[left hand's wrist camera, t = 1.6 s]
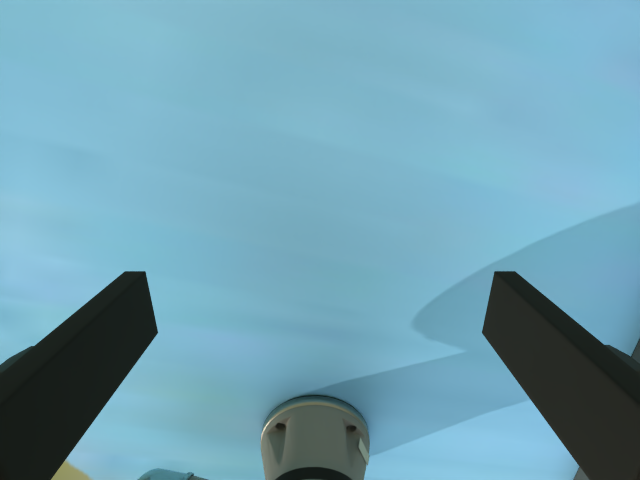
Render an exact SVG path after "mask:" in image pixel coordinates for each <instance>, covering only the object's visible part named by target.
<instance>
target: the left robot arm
mask: <svg viewBox="0 0 640 480" xmlns="http://www.w3.org/2000/svg"><path fill="white" fill-rule="evenodd" d="M157 333H158V331H157V326H156V321H155V316H154V311H153V306H152V301H151V296H150V292H149V287H148V282H147V277H146V272H145V271H125V272H124V273H123V274H121V275H120V276H119V277H118V278H116V279H115V280H114V281H113V282H112V283H110V284H109V285H108V286H107V287H106V288H104V289H103V290H102V291H101V292H99V293H98V294H97V295H96V296H95V297H93V298H92V299H91V300H90V301H89V302H87V303H86V304H85V305H84V306H82V307H81V308H80V309H79V310H78V311H76V312H75V313H74V314H73V315H72V316H70V317H69V318H68V319H67V320H65V321H64V322H63V323H62V324H61V325H59V326H58V327H57V328H56V329H55V330H53V331H52V332H51V333H50V334H48V335H47V336H46V337H45V338H44V339H42V340H41V341H40V342H39V343H38V344H36V345H35V346H31V347H29V348H27V349H25V350H23V351H21V352H20V353H18V354H16V355H14V356H12V357H10V358H9V359H7V360H6V361H5V362H4V363H2V364H1V365H0V480H51V479H52V477H53V476H54V474H55V473H56V472H57V470H58V469H59V468H60V466H61V465H62V464H63V462H64V461H65V459H66V458H67V457H68V455H69V454H70V453H71V451H72V450H73V448H74V447H75V446H76V444H77V443H78V442H79V440H80V439H81V437H82V436H83V435H84V433H85V432H86V431H87V429H88V428H89V427H90V425H91V424H92V422H93V421H94V420H95V418H96V417H97V416H98V414H99V413H100V411H101V410H102V409H103V407H104V406H105V405H106V403H107V402H108V401H109V399H110V398H111V396H112V395H113V394H114V392H115V391H116V390H117V388H118V387H119V385H120V384H121V383H122V381H123V380H124V379H125V377H126V376H127V374H128V373H129V372H130V370H131V369H132V368H133V366H134V365H135V364H136V362H137V361H138V359H139V358H140V357H141V355H142V354H143V353H144V351H145V350H146V348H147V347H148V346H149V344H150V343H151V342H152V340H153V339H154V338H155V336H156V335H157ZM482 333H483V335H484V336H485V338H486V339H487V340H488V342H489V343H490V344H491V346H492V347H493V348H494V350H495V351H496V353H497V354H498V355H499V357H500V358H501V359H502V361H503V362H504V364H505V365H506V366H507V368H508V369H509V370H510V372H511V373H512V374H513V376H514V377H515V379H516V380H517V381H518V383H519V384H520V385H521V387H522V388H523V390H524V391H525V392H526V394H527V395H528V396H529V398H530V399H531V401H532V402H533V403H534V405H535V406H536V407H537V409H538V410H539V411H540V413H541V414H542V416H543V417H544V418H545V420H546V421H547V422H548V424H549V425H550V427H551V428H552V429H553V431H554V432H555V433H556V435H557V436H558V437H559V439H560V440H561V442H562V443H563V444H564V446H565V447H566V448H567V450H568V451H569V453H570V454H571V455H572V457H573V458H574V459H575V461H576V462H577V464H578V465H579V466H580V468H581V469H582V470H583V472H584V473H585V474H586V476H587V477H588V479H589V480H640V363H638V362H637V361H636V360H635V359H633V358H632V357H630V356H629V355H627V354H625V353H623V352H621V351H619V350H618V349H616V348H614V347H612V346H610V345H604V344H602V343H601V342H600V341H599V340H598V339H596V338H595V337H594V336H593V335H592V334H590V333H589V332H588V331H587V330H585V329H584V328H583V327H582V326H581V325H579V324H578V323H577V322H576V321H575V320H573V319H572V318H571V317H570V316H568V315H567V314H566V313H565V312H564V311H562V310H561V309H560V308H559V307H558V306H556V305H555V304H554V303H553V302H551V301H550V300H549V299H548V298H547V297H545V296H544V295H543V294H542V293H541V292H539V291H538V290H537V289H536V288H534V287H533V286H532V285H531V284H530V283H528V282H527V281H526V280H525V279H524V278H522V277H521V276H520V275H519V274H517V273H516V272H515V271H495V272H494V277H493V282H492V287H491V292H490V296H489V301H488V306H487V311H486V316H485V321H484V326H483V331H482ZM369 444H370V442H369V434H368V428H367V425H366V422H365V420H364V418H363V417H362V416H361V414H360V413H359V412H358V411H357V410H356V409H354V408H353V407H352V406H350V405H348V404H347V403H345V402H343V401H340V400H337V399H334V398H330V397H324V396H305V397H299V398H295V399H292V400H289V401H287V402H285V403H283V404H281V405H280V406H278V407H277V408H276V409H274V410H273V411H272V412H271V413H270V414H269V416H268V417H267V419H266V421H265V423H264V426H263V431H262V436H261V453H262V460H263V466H264V473H265V479H266V480H364V475H365V470H366V465H368V461H369ZM193 475H194V473H191V472H189V473H187V474H185V473H180V472H175V471H170V470H165V469H153V470H150V471H148V472H146V473H145V474H143V475H142V476H141V477H140V478H139V479H138V480H207V479H204V478H200V477H196V476H193Z"/></svg>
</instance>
